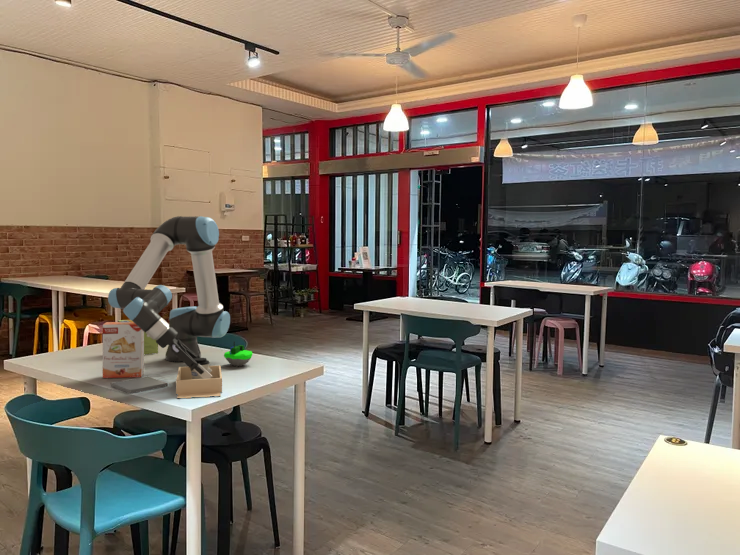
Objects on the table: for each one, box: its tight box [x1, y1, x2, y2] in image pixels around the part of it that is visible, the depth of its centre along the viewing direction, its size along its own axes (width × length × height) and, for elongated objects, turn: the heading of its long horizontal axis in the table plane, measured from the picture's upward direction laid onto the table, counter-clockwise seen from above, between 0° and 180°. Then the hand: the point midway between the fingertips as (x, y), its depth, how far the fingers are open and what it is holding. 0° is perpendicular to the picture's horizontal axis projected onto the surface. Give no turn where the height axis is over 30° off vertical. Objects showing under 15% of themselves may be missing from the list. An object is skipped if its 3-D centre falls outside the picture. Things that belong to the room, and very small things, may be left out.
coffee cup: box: [191, 357, 210, 379], centre depth 201 cm, size 7×7×10 cm
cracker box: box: [102, 321, 145, 379], centre depth 213 cm, size 14×6×21 cm, turn 103°
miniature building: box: [223, 341, 254, 367], centre depth 237 cm, size 12×12×11 cm
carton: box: [175, 365, 223, 399], centre depth 201 cm, size 15×31×5 cm, turn 17°
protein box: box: [117, 319, 159, 355], centre depth 257 cm, size 10×15×16 cm
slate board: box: [110, 375, 169, 394], centre depth 199 cm, size 14×14×1 cm
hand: (209, 375), depth 202 cm, fingers open, 8 cm apart
